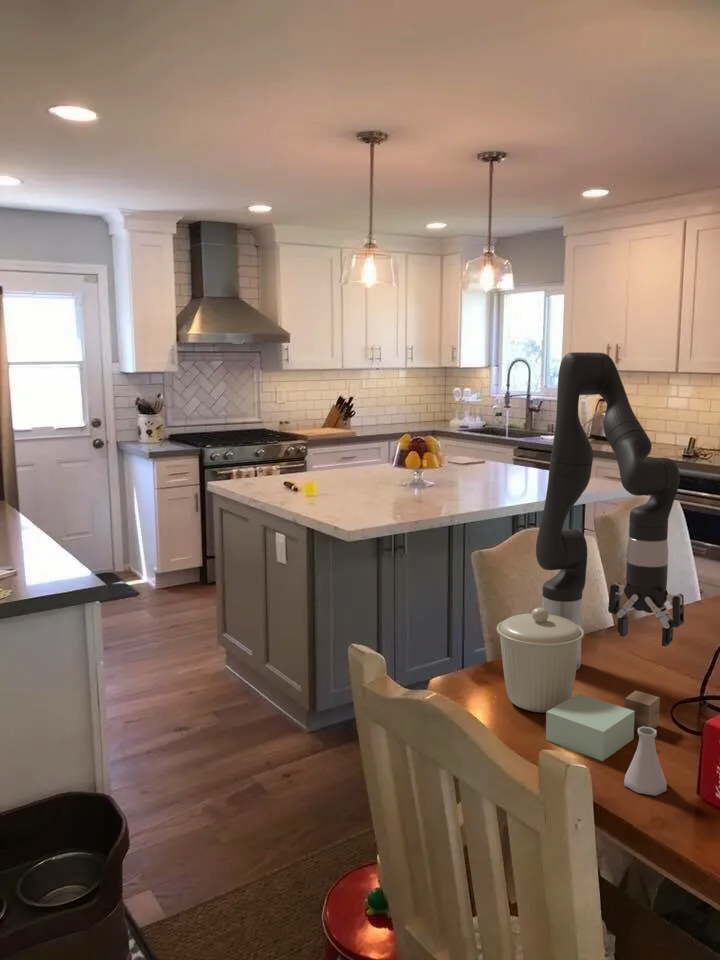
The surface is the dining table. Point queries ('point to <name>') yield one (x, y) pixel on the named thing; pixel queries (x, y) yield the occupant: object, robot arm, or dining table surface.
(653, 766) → the flask
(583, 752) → the sage box
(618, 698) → the dining table surface
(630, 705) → the walnut block
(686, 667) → the dining table surface
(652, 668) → the dining table surface
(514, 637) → the canister
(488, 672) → the dining table surface
